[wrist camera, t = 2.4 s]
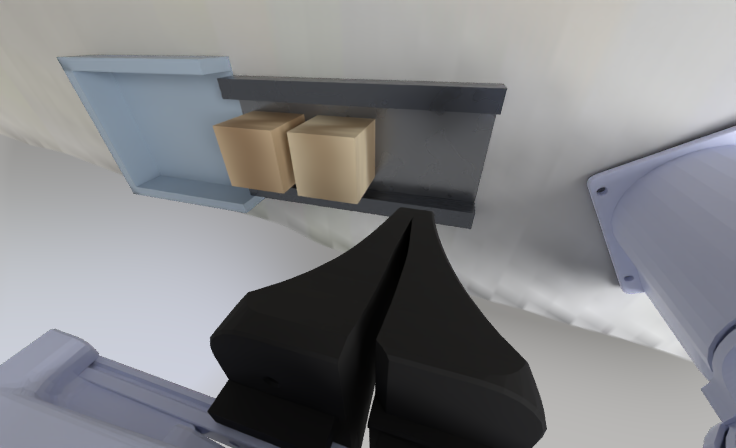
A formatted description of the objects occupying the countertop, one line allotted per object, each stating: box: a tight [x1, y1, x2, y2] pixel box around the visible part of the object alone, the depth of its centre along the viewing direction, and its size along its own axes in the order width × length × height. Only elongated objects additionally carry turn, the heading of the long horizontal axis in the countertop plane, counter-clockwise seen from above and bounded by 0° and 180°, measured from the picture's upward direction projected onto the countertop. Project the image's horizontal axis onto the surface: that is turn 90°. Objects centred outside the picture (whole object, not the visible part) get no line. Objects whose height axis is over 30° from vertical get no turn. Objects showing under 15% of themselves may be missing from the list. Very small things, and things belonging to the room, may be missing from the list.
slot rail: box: [217, 75, 507, 229], centre depth 18 cm, size 17×8×2 cm, turn 91°
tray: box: [57, 55, 265, 213], centre depth 21 cm, size 12×11×3 cm
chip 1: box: [213, 111, 305, 193], centre depth 18 cm, size 4×4×4 cm
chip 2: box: [287, 115, 375, 204], centre depth 17 cm, size 4×4×4 cm
